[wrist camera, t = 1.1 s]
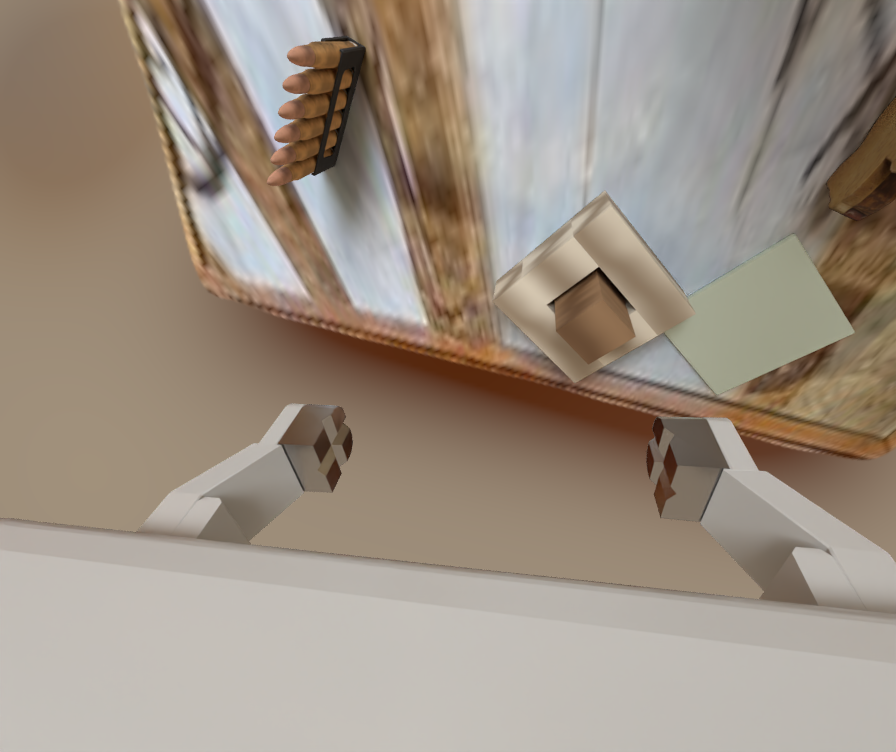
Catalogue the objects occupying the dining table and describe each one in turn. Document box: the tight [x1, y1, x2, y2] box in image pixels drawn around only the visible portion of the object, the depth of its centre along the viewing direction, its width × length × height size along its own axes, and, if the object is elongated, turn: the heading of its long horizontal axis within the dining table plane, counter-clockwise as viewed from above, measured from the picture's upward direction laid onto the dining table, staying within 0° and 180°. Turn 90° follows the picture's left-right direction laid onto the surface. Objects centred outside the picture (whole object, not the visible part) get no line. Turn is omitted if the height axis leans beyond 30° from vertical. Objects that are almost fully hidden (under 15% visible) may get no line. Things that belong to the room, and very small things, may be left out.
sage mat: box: [664, 233, 855, 395], centre depth 45 cm, size 14×14×1 cm
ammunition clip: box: [267, 36, 365, 186], centre depth 35 cm, size 11×2×12 cm, turn 155°
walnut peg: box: [554, 267, 636, 365], centre depth 42 cm, size 5×5×10 cm
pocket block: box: [493, 191, 696, 383], centre depth 44 cm, size 14×14×5 cm
